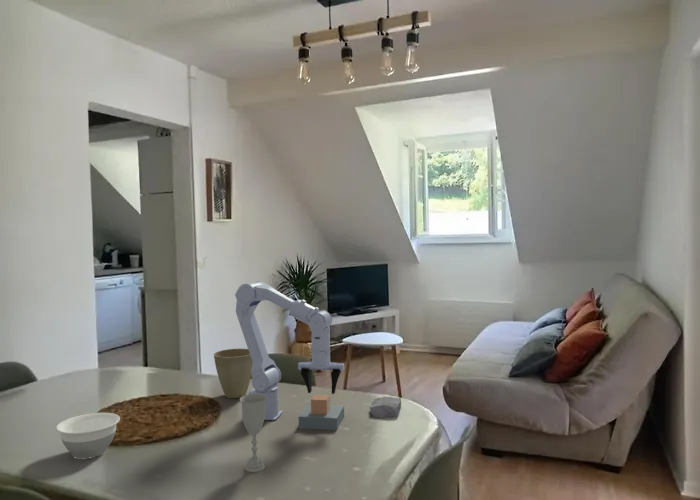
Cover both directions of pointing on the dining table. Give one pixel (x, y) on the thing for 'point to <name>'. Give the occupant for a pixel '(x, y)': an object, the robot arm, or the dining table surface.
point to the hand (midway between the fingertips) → (321, 392)
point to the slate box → (322, 418)
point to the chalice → (253, 425)
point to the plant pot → (234, 371)
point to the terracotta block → (320, 404)
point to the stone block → (385, 407)
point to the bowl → (88, 433)
